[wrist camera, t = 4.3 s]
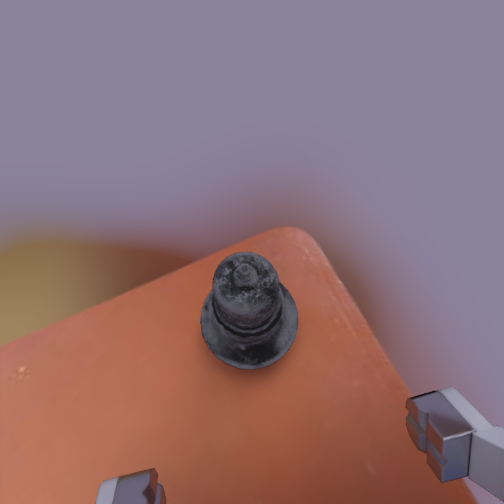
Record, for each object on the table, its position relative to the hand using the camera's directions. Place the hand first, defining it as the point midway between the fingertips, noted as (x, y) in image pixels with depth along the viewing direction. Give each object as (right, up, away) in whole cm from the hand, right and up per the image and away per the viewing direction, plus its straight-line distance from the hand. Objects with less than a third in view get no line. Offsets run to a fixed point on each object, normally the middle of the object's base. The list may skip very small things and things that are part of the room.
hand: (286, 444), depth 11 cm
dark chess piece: (-1, +1, +13) cm, 13 cm away
